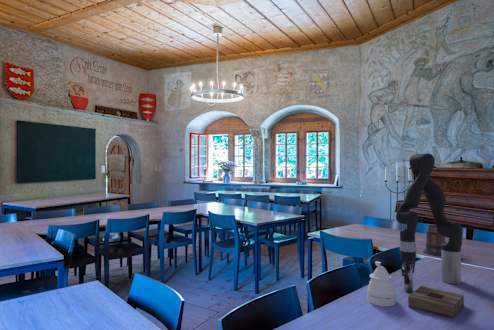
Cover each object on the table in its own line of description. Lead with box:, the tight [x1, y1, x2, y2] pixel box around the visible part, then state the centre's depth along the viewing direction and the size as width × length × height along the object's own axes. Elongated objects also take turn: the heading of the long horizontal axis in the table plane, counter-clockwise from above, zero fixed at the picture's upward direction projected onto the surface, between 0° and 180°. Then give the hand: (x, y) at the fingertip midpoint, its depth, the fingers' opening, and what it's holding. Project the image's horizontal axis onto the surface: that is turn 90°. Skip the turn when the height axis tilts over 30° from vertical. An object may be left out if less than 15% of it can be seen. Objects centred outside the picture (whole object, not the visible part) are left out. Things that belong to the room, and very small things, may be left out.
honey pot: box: [366, 261, 397, 307], centre depth 164 cm, size 13×13×18 cm
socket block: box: [407, 285, 465, 320], centre depth 156 cm, size 18×18×5 cm
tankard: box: [422, 224, 448, 257], centre depth 251 cm, size 24×17×20 cm
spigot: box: [403, 268, 414, 293], centre depth 176 cm, size 4×4×11 cm
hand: (408, 282), depth 176 cm, fingers closed on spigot, 4 cm apart
